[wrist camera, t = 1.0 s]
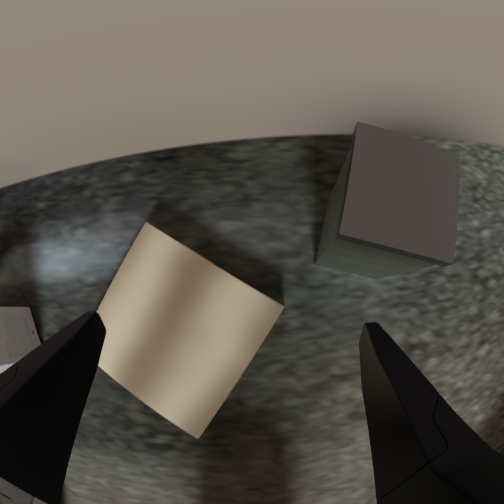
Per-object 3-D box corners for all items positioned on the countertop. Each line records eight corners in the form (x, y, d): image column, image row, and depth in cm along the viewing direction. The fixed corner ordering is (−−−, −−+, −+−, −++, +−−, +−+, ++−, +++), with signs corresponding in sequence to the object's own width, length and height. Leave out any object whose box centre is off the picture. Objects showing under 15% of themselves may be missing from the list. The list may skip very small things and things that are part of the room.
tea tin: (387, 217, 23) (459, 154, 12) (376, 280, 23) (452, 264, 11) (326, 201, 24) (357, 121, 12) (312, 265, 24) (339, 233, 12)
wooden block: (284, 306, 24) (284, 307, 21) (207, 425, 23) (197, 439, 20) (160, 229, 26) (146, 221, 23) (98, 344, 25) (79, 348, 22)
